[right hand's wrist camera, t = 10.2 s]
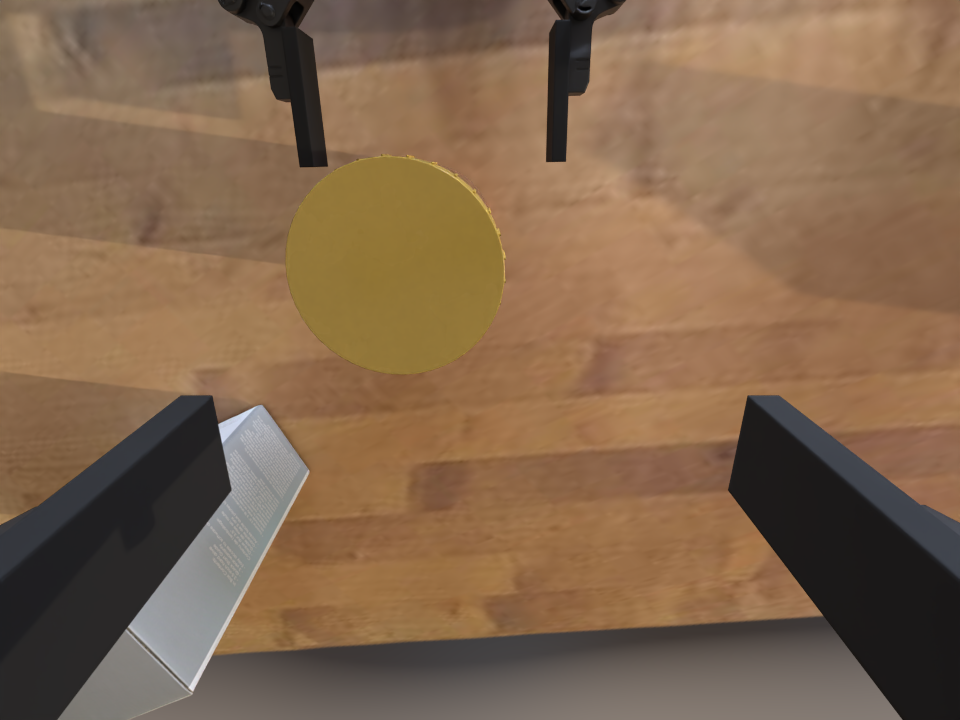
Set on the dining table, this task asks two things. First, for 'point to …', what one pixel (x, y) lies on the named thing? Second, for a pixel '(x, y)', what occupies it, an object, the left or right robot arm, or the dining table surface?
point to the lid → (395, 264)
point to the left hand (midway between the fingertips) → (434, 165)
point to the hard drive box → (200, 580)
